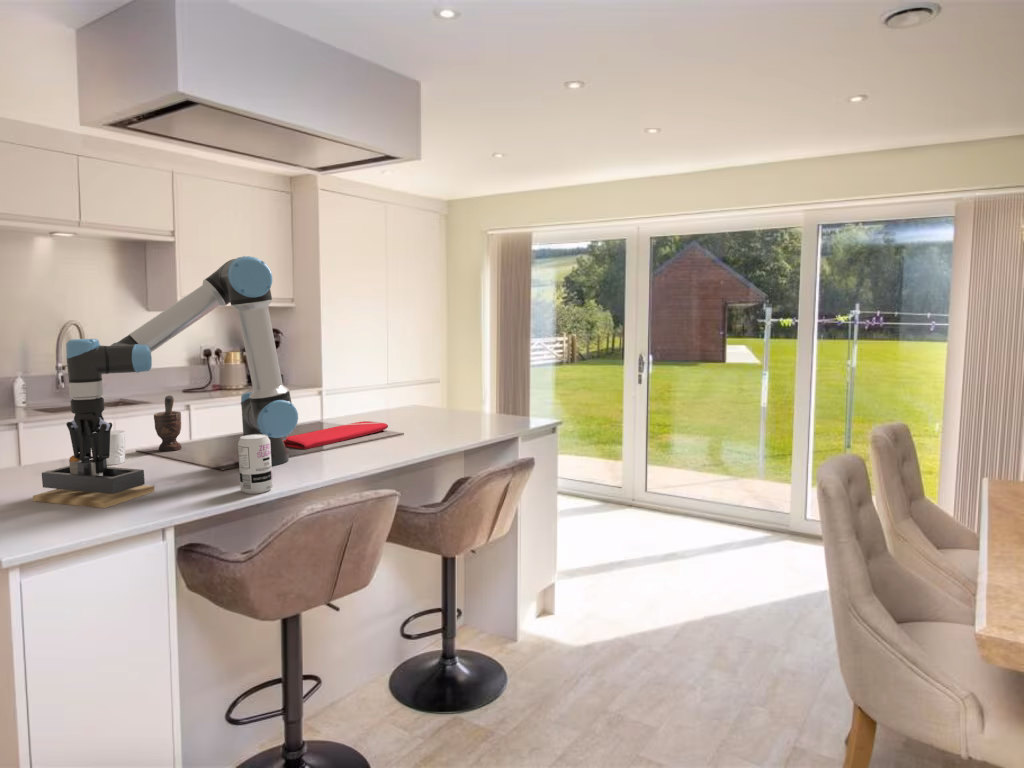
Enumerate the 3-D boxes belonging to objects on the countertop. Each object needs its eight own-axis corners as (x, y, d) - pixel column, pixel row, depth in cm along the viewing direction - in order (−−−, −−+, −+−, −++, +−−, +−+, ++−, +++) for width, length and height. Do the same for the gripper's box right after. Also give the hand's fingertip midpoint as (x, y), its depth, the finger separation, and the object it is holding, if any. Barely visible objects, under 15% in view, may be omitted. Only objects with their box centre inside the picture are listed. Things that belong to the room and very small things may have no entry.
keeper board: (154, 491, 190) (151, 452, 189) (105, 508, 175) (101, 465, 174) (86, 485, 197) (83, 447, 196) (33, 501, 182) (29, 460, 181)
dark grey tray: (76, 478, 194) (74, 453, 193) (144, 484, 187) (142, 458, 186) (42, 487, 185) (40, 461, 184) (113, 493, 177) (111, 467, 177)
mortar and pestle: (193, 449, 245) (189, 393, 243) (169, 454, 238) (165, 396, 236) (175, 446, 252) (171, 391, 249) (151, 450, 245) (147, 394, 242)
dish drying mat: (277, 446, 252) (276, 436, 251) (361, 428, 285) (361, 419, 285) (305, 451, 243) (305, 440, 242) (389, 432, 276) (389, 423, 276)
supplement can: (245, 487, 194) (242, 434, 192) (276, 486, 194) (273, 433, 193) (236, 495, 186) (233, 439, 184) (268, 493, 186) (265, 439, 184)
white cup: (114, 466, 221) (112, 435, 220) (93, 465, 223) (90, 434, 222) (132, 460, 229) (130, 430, 228) (112, 459, 231) (109, 430, 229)
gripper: (121, 396, 184) (128, 483, 187) (77, 394, 189) (84, 479, 192) (97, 400, 177) (104, 490, 180) (52, 398, 182) (59, 486, 184)
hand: (94, 484), depth 186 cm, fingers closed on dark grey tray, 2 cm apart
